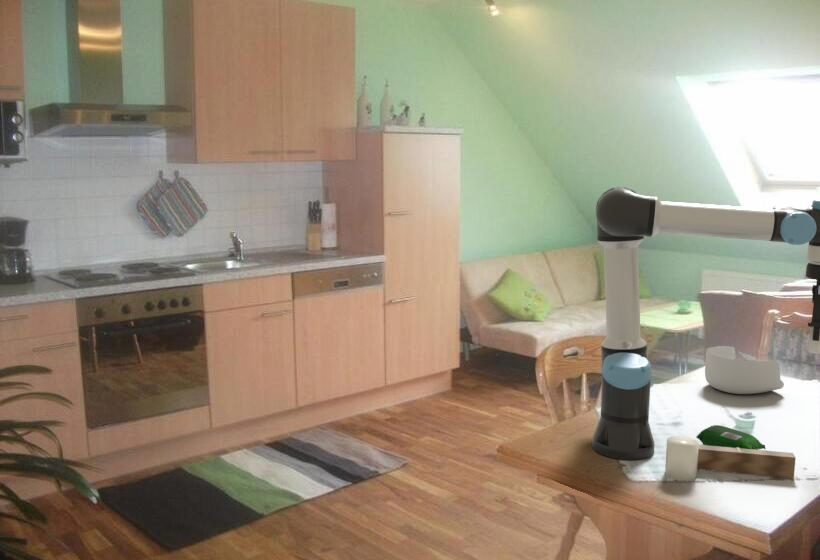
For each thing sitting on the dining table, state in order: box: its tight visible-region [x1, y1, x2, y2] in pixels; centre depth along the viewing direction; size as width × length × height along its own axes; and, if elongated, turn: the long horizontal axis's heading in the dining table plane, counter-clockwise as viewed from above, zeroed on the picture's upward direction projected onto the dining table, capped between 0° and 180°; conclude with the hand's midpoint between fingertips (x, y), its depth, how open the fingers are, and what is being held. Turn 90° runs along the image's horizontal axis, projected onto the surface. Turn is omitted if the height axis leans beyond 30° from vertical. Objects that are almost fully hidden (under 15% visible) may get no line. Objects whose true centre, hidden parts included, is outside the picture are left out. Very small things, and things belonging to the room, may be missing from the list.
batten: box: [697, 444, 796, 479], centre depth 192 cm, size 22×3×5 cm, turn 76°
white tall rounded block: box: [664, 435, 700, 481], centre depth 190 cm, size 7×7×8 cm
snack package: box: [695, 424, 766, 450], centre depth 205 cm, size 7×16×5 cm, turn 36°
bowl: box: [704, 345, 785, 395], centre depth 257 cm, size 20×19×12 cm
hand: (815, 347), depth 204 cm, fingers open, 13 cm apart
